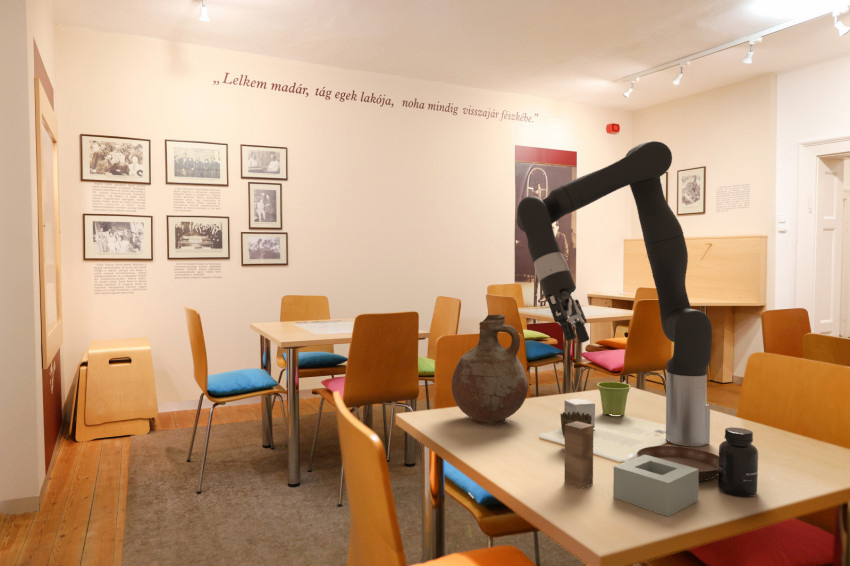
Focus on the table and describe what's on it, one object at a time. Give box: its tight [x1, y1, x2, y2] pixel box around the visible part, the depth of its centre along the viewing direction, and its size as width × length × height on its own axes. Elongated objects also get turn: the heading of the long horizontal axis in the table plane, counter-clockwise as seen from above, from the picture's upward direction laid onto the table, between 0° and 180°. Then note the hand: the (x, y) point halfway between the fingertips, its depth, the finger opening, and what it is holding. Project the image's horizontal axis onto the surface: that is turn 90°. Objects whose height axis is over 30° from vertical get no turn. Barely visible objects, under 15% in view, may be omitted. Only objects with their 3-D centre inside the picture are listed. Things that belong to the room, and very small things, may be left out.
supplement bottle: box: [717, 427, 759, 498], centre depth 116 cm, size 7×7×12 cm
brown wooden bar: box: [564, 421, 594, 489], centre depth 121 cm, size 4×4×12 cm
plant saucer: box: [636, 445, 719, 482], centre depth 129 cm, size 18×18×3 cm
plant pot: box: [596, 381, 632, 416], centre depth 175 cm, size 9×9×9 cm
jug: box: [451, 314, 529, 426], centre depth 168 cm, size 22×22×30 cm
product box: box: [563, 398, 596, 429], centre depth 161 cm, size 6×6×7 cm
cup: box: [559, 411, 592, 439], centre depth 144 cm, size 8×7×8 cm
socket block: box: [612, 455, 699, 517], centre depth 113 cm, size 11×11×6 cm
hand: (578, 340), depth 135 cm, fingers open, 8 cm apart
